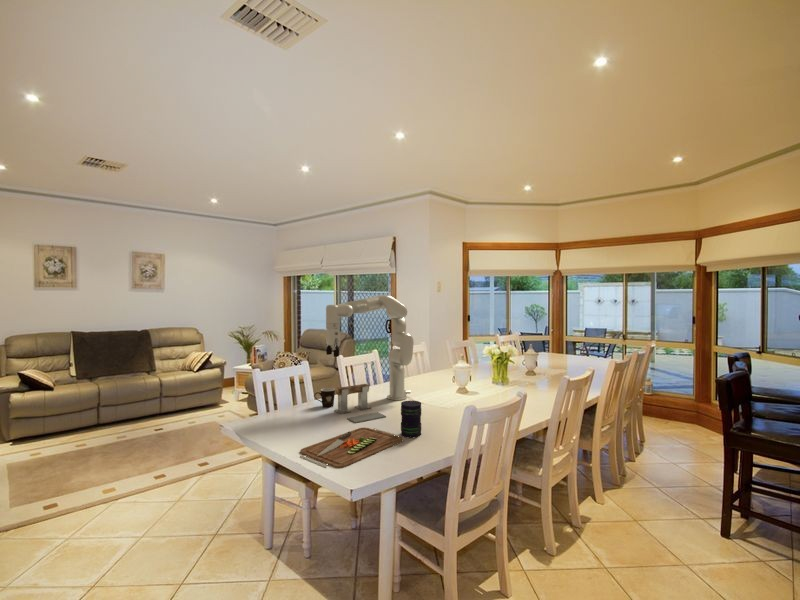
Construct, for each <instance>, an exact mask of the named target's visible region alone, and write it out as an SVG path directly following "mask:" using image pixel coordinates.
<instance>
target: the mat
mask: <svg viewBox="0 0 800 600" xmlns="http://www.w3.org/2000/svg"><path fill="white" fill-rule="evenodd" d="M386 417H387V415H384V414H382V413H380V412H379V411H376V412H372V413H366V414H361V415H354V416H350V417H347V418H346V420H349V421H350V422H352V423H353V424H359V423H364V422H368V421H373V420H378V419H383V418H386Z"/></svg>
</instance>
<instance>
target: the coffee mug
mask: <svg viewBox="0 0 800 600" xmlns="http://www.w3.org/2000/svg"><path fill="white" fill-rule="evenodd" d="M317 394H319V395H320V397H321V400H320V399H319V398H317V397H316V395H317ZM335 394H336V388H332V387H324V388H323V387H322V388H321V389H320V392H315V393H314V395H313V397H314V398H315V400H317V402H320V403H321V404H322V405H321V406H322V408H326V409H328V408H329V409H330V408H333V407H334V404H335V396H336V395H335Z"/></svg>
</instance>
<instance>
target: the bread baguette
mask: <svg viewBox="0 0 800 600" xmlns="http://www.w3.org/2000/svg"><path fill="white" fill-rule="evenodd" d="M364 386H369V387H370V385H369V384H368V383H362V384H355V385H349V386H340V387H336V388H335V394H336V395H337V396H338V395H339V396H340V395H341V390H344V389H349V395H352V394H358V393H359V392H362V387H364Z"/></svg>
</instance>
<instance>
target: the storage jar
mask: <svg viewBox="0 0 800 600" xmlns="http://www.w3.org/2000/svg"><path fill="white" fill-rule="evenodd" d="M400 405H401V406H400V416H401V422H400V435H401V436H402V437H403V436H404V438H407V437H409V439H414V438H413V437H416V438H419V437H421V436H422V417H421V416H422V402H420V401H419V400H404V401H403V400H402V402H400ZM420 435H421V436H420ZM418 436H419V437H418Z"/></svg>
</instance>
